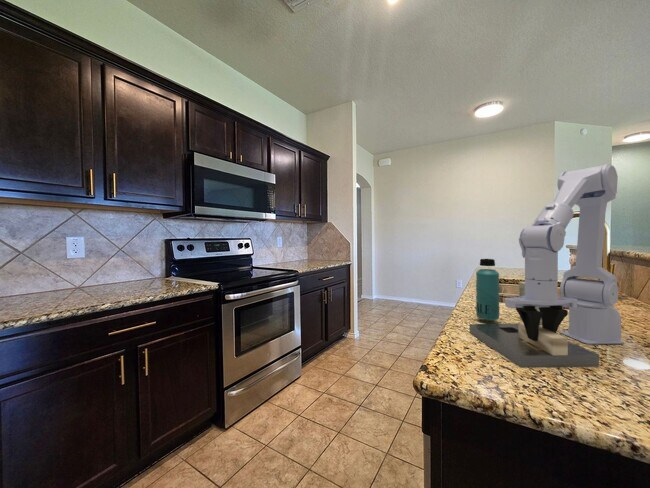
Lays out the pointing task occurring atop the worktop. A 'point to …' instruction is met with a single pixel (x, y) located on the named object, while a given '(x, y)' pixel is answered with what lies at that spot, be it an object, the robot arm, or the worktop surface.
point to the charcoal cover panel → (530, 348)
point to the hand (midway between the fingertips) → (540, 339)
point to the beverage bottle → (487, 291)
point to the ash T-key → (546, 340)
